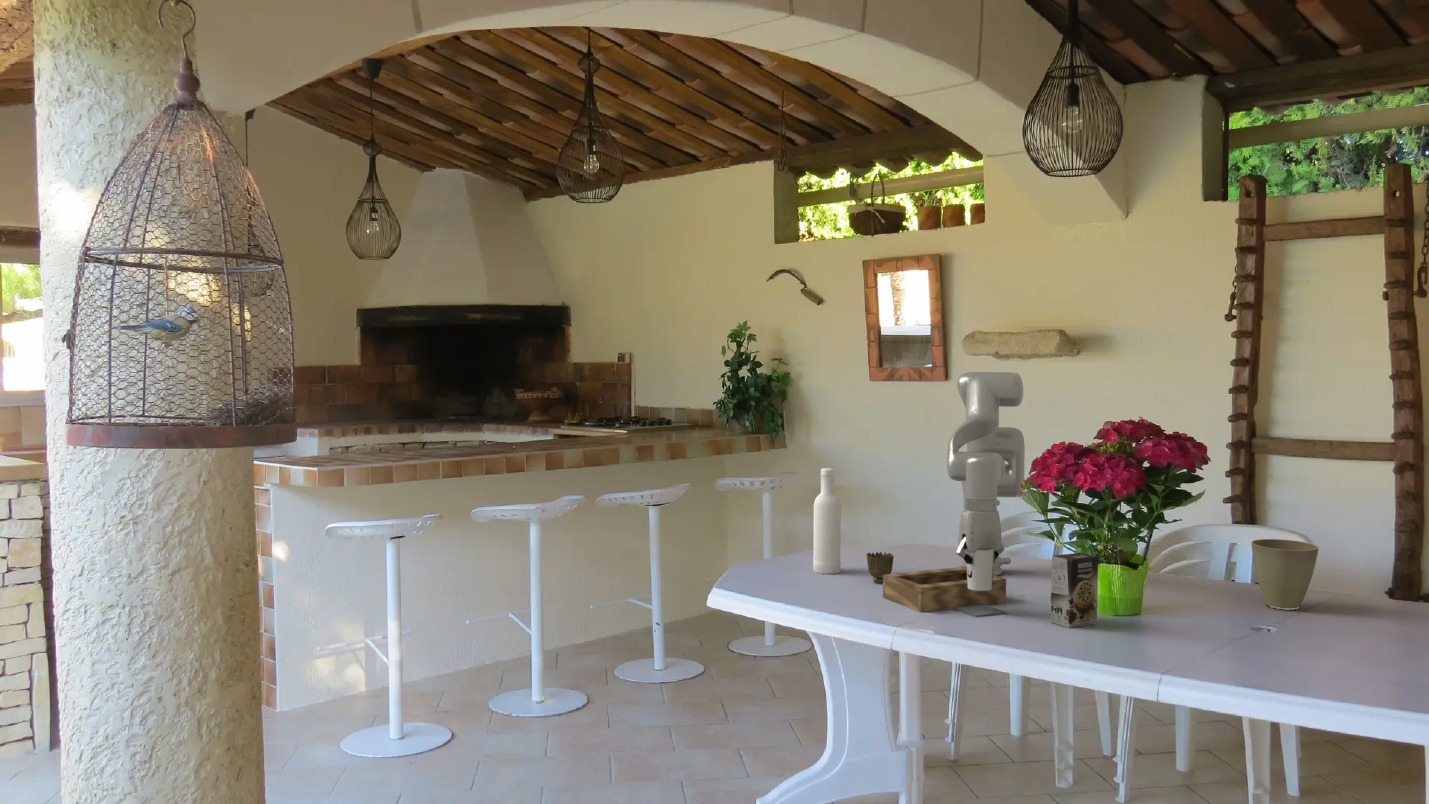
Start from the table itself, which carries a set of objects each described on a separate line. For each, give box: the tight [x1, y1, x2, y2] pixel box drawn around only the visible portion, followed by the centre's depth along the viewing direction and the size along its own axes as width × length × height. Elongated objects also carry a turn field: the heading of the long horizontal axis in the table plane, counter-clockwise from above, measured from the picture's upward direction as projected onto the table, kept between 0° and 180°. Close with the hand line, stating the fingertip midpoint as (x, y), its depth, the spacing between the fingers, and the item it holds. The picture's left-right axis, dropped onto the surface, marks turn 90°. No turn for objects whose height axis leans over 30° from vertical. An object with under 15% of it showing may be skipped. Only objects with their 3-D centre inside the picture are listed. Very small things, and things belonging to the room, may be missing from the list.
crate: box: [882, 566, 1007, 613], centre depth 280 cm, size 26×17×6 cm, turn 114°
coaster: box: [953, 604, 1007, 618], centre depth 268 cm, size 9×9×1 cm
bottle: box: [812, 467, 842, 575], centre depth 314 cm, size 8×8×30 cm
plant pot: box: [1251, 538, 1320, 608], centre depth 271 cm, size 15×15×16 cm
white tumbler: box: [966, 548, 994, 591], centre depth 267 cm, size 7×7×10 cm
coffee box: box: [1049, 552, 1099, 629], centre depth 256 cm, size 9×6×16 cm
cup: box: [866, 551, 895, 585], centre depth 300 cm, size 8×7×8 cm
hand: (980, 579), depth 267 cm, fingers closed on white tumbler, 3 cm apart
